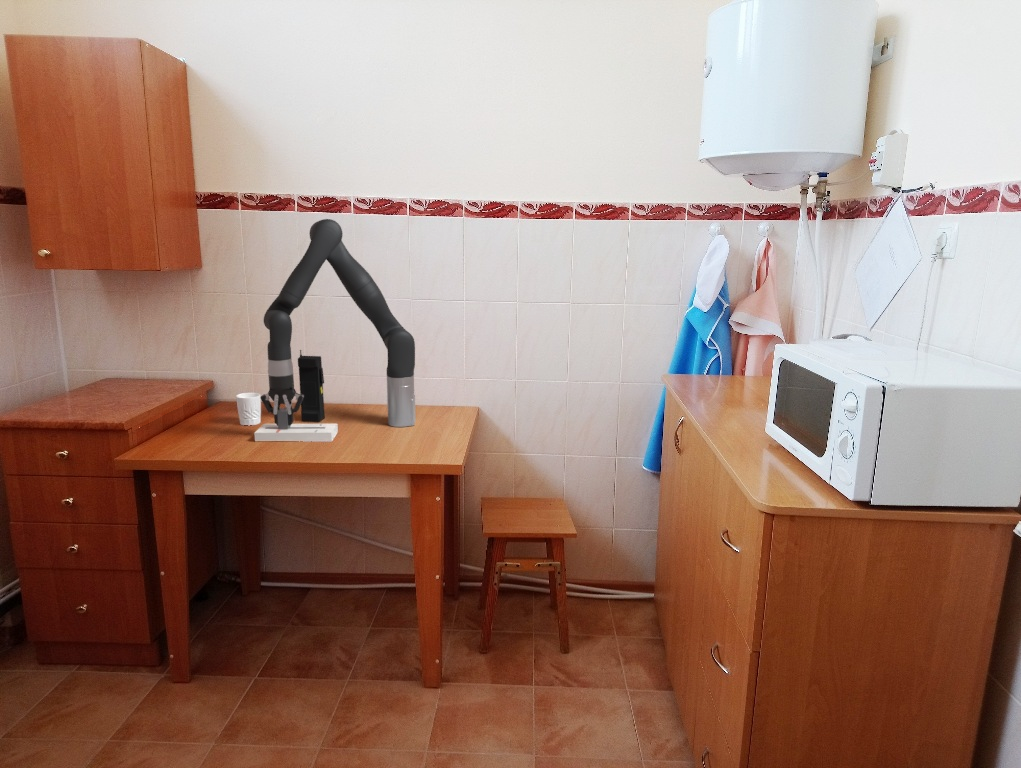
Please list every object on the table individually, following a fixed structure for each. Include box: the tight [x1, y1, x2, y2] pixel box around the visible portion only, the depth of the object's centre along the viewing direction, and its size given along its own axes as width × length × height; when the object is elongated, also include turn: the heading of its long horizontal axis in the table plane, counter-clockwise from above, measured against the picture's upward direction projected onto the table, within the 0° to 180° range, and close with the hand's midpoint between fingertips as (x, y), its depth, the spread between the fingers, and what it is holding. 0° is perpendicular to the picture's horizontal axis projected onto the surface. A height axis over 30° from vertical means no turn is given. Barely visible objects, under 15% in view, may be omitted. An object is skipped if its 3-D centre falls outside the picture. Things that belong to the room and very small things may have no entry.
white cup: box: [235, 392, 262, 427], centre depth 237 cm, size 8×8×10 cm
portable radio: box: [297, 349, 326, 423], centre depth 240 cm, size 8×6×25 cm
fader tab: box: [277, 407, 290, 429], centre depth 222 cm, size 3×4×6 cm
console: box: [254, 422, 339, 443], centre depth 223 cm, size 24×10×3 cm, turn 93°
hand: (284, 424), depth 222 cm, fingers closed on fader tab, 3 cm apart
